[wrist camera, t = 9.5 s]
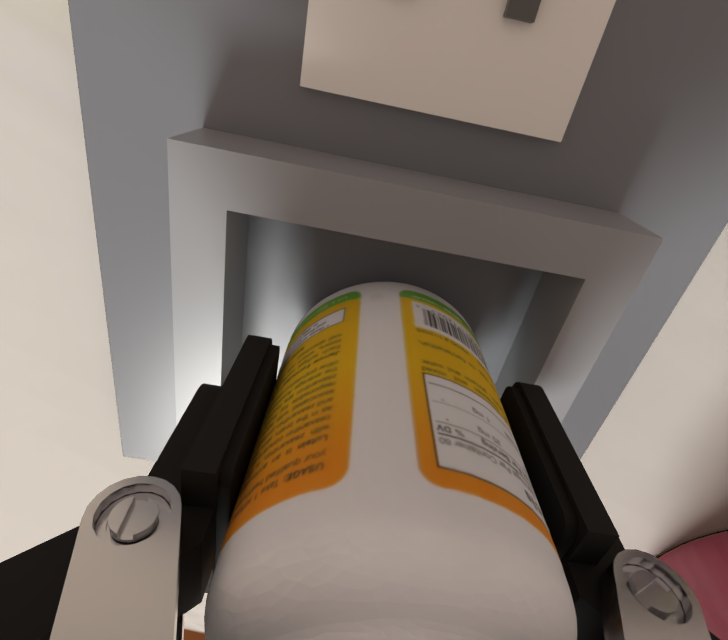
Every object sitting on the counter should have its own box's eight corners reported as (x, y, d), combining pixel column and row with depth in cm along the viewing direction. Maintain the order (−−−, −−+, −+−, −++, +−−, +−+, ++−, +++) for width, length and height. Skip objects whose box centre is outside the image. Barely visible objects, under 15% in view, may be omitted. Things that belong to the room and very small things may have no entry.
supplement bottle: (298, 432, 14) (171, 1003, 5) (276, 277, 11) (-47, 922, 3) (469, 432, 14) (620, 1025, 5) (488, 273, 11) (871, 963, 2)
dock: (949, -214, 8) (1230, -354, 5) (534, 497, 18) (562, 570, 15) (47, -482, 7) (-157, -826, 4) (136, 436, 17) (91, 503, 14)
